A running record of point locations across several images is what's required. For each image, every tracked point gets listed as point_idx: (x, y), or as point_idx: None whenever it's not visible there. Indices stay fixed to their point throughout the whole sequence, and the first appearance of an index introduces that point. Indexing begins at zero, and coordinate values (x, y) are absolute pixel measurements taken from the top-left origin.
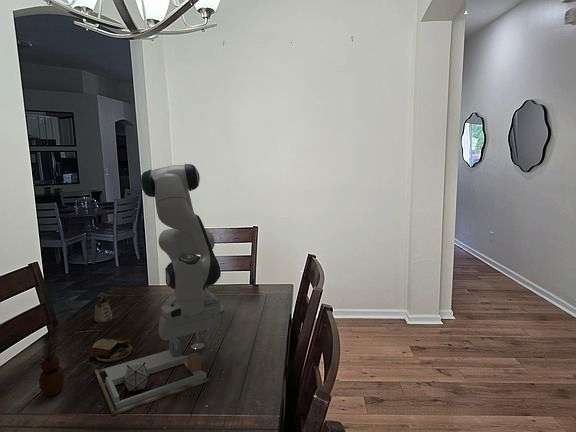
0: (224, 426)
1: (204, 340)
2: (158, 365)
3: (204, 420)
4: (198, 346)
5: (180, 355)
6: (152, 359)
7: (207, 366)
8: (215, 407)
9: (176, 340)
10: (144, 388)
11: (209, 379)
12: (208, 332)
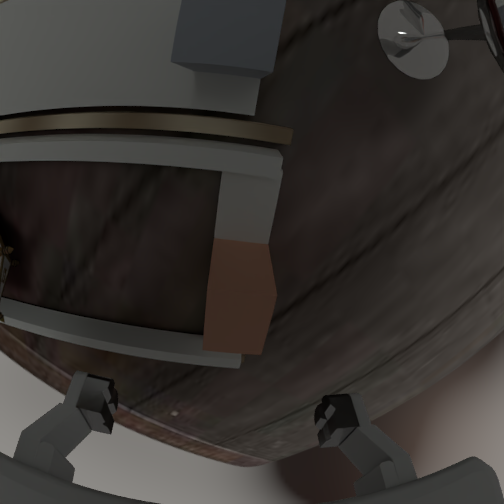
0: (179, 448)
1: (321, 427)
2: (57, 158)
3: (150, 429)
4: (413, 57)
5: (246, 84)
6: (78, 25)
7: (309, 272)
8: (189, 423)
9: (70, 465)
10: (9, 265)
11: (243, 360)
12: (366, 472)
